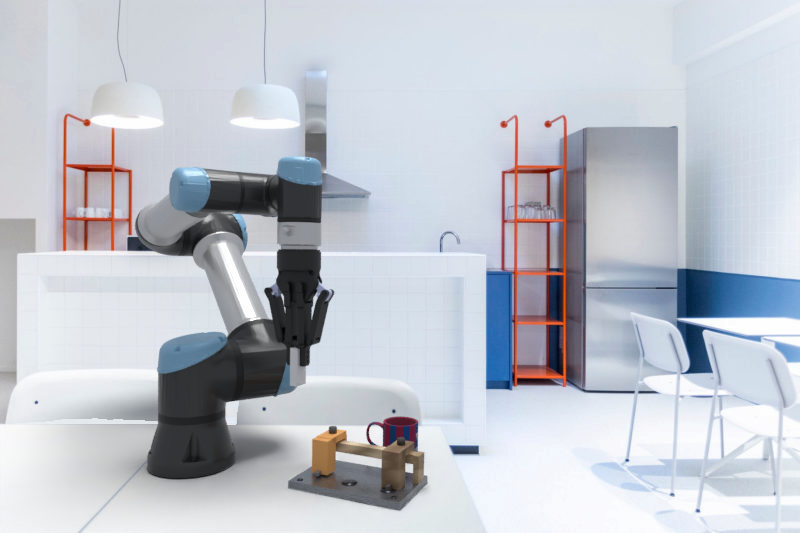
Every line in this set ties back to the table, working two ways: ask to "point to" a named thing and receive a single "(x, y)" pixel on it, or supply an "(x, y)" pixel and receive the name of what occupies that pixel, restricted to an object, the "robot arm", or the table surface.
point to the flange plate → (357, 485)
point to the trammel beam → (390, 460)
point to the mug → (397, 430)
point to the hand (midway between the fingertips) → (297, 384)
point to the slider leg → (326, 450)
